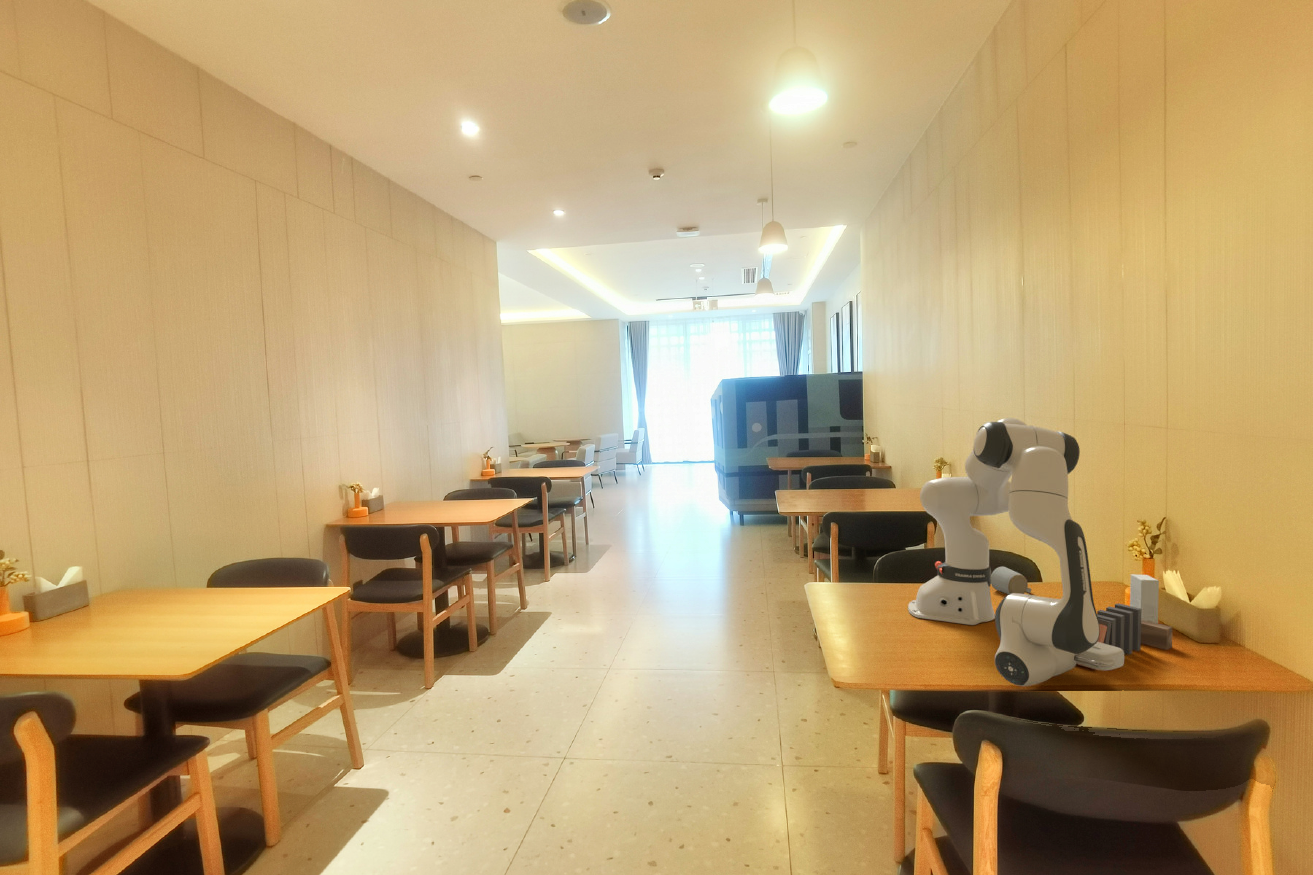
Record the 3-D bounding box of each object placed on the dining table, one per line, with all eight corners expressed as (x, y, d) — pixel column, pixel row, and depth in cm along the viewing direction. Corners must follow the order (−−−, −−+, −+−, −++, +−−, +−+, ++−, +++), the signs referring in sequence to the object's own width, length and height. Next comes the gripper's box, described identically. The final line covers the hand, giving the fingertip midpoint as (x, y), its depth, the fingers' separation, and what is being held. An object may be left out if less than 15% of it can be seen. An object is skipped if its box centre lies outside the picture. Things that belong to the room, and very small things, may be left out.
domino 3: (1111, 663, 149) (1112, 620, 148) (1087, 656, 153) (1088, 614, 153) (1114, 661, 150) (1115, 618, 149) (1091, 654, 154) (1091, 613, 154)
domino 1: (1093, 668, 145) (1104, 625, 147) (1069, 660, 149) (1080, 618, 151) (1096, 670, 146) (1107, 626, 147) (1072, 662, 150) (1083, 620, 152)
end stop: (1166, 649, 156) (1166, 629, 156) (1110, 635, 166) (1110, 615, 166) (1171, 647, 157) (1172, 626, 157) (1116, 632, 168) (1116, 613, 167)
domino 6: (1137, 651, 156) (1138, 609, 155) (1113, 644, 160) (1114, 604, 159) (1140, 649, 156) (1141, 608, 156) (1117, 643, 161) (1117, 603, 160)
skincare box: (1158, 625, 172) (1159, 580, 171) (1140, 624, 173) (1141, 580, 172) (1146, 617, 178) (1147, 574, 177) (1128, 616, 179) (1129, 573, 178)
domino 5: (1128, 654, 154) (1129, 613, 153) (1105, 648, 158) (1106, 607, 157) (1132, 653, 154) (1133, 611, 154) (1108, 646, 159) (1109, 606, 158)
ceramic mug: (1009, 598, 197) (1010, 573, 197) (989, 591, 205) (990, 566, 204) (1038, 596, 200) (1039, 571, 199) (1017, 588, 207) (1018, 564, 207)
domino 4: (1120, 658, 151) (1121, 616, 151) (1096, 652, 156) (1097, 610, 155) (1123, 657, 152) (1124, 615, 152) (1100, 650, 156) (1100, 609, 156)
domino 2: (1102, 665, 147) (1108, 621, 148) (1078, 658, 151) (1084, 615, 152) (1105, 665, 148) (1111, 621, 148) (1082, 658, 152) (1087, 615, 153)
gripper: (1106, 652, 131) (1138, 638, 139) (1007, 623, 149) (1040, 612, 156) (1105, 683, 132) (1138, 667, 139) (1006, 650, 149) (1040, 637, 156)
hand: (1085, 637), depth 148 cm, fingers closed
